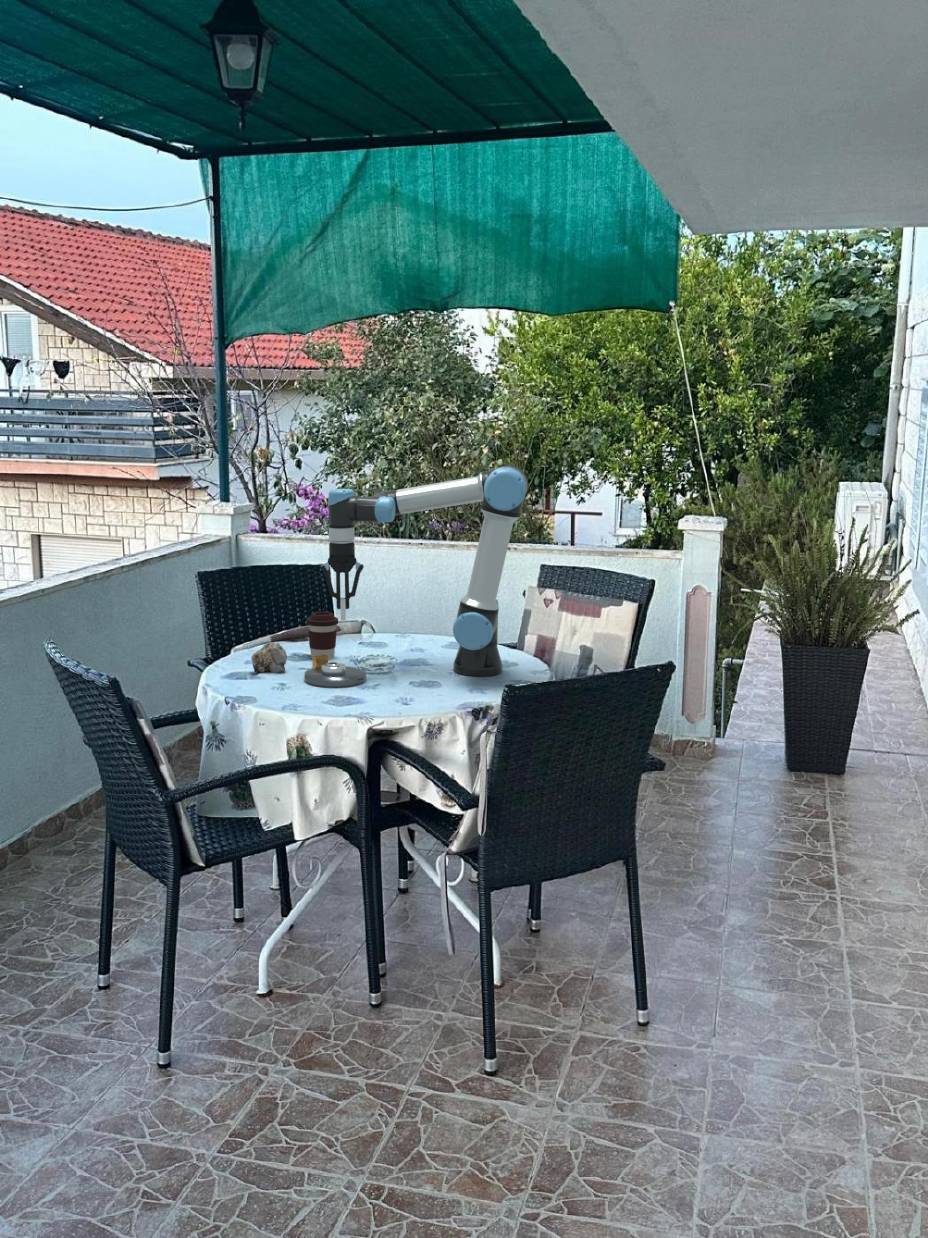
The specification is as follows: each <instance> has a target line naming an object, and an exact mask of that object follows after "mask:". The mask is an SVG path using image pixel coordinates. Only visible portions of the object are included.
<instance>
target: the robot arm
mask: <svg viewBox="0 0 928 1238" xmlns="http://www.w3.org/2000/svg"><path fill="white" fill-rule="evenodd" d="M528 489H529V481H528V477H527V475H526V473H525V472H524V471H523V470H522V469H521V468H519V467H518V466H516V465H512V464H511V465H510V464H508V465H507V464H506V465H502V466H499V467H496V468H493V469H489V470H487V471H485V470H484V471H481V472H480V473H479V474H478V475H477V476H470V477H466V478H465V477H464V478H460V479H459V478H458V479H454V480H453V479H452V480H447V481H442V482H441V481H440V482H436V483H430V484H424V485H418V486H412V487H406V488H405V487H404V488H401V489H396V490H395V489H394V490H388V491H387V490H384V491H383V490H382V491H379V492H377V493H375V494H374V495H370V496H359V495H355V493H354V489H351V488H333V489H331V490H329V492H328V500H327V501H328V503H327V508H328V513H327V514H328V540H329V541H330V542H329V543H328V551H329V553H328V556H329V557H328V559H327V561H326V562H325V563H324V564H321V565H320V569H321V570H322V572H323V573H324V577H325V581H326V584H327V588H328V593H329V594H330V597H331V598H335V599H336V600H335V601H336V609H337V610H340V621H342V622H343V621H344V622H345V621H347V616H346V615H347V614H346V612H347V611H346V610H350V600H351V598H353V597H355V596H356V593H357V588H358V585H359V580H360V576H361V573H362V571H363V569H364V564H363V563H360V562H358V560H357V558H356V556H355V555H356V551H355V550H356V547H355V542H354V540H355V522H356V523H360V522H362V523H363V522H365V523H381V524H383V523H391V522H393V521H394V520H395V516H400V515H405V514H411V513H416V512H423V511H429V510H436V509H443V508H448V507H449V508H450V507H455V506H459V505H460V506H461V505H466V504H467V505H468V504H472V503H479V502H481V508H480V511H481V513H482V514H483V516H484V517H483V522H482V526H481V531H480V535H479V540H478V544H477V549H476V554H475V557H474V558H475V559H474V561H473V566H472V571H471V574H470V580H469V585H468V587H467V588H468V589H467V592H466V593H467V594H466V595H464V596H463V597H461V598H460V602H459V605H458V609H457V610H458V611H457V616H456V619H455V621H454V622H453V626H452V631H453V637H454V639H455V641H456V642H457V643H458V645H459V647H458V649H457V653H456V656H455V658H454V661H453V671H454V672H455V673H457V674H460V675H464V676H471V677H490V676H496V675H499V674H501V673H502V672H503V663H502V658H501V655H500V652H499V649H498V636H499V635H498V629H499V611H500V610H499V609H500V606H499V601H498V599H497V596H498V593H499V592H498V591H499V587H500V584H501V583H500V582H501V578H502V573H503V571H504V565H505V561H506V558H507V552H508V548H509V544H510V539H511V534H512V531H513V526H514V523H515V522H516V521H518V520H519V519H520V518H521V513H522V510H523V506H524V502H525V501H524V500H525V497H526V495H527V492H528ZM354 566H355V570H356V571H355V574H354V579H353V582H352V583H353V584H352V588H351V592H350V572H351V571H352V570H353V568H354ZM330 568H331V569H332V570H333V572H335V587H336V589H334V587H333V583H332V580H331V576H330V571H329V570H330ZM342 573H343V574H344V597H341V574H342ZM334 590H335V591H336V592H335V591H334Z"/></svg>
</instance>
